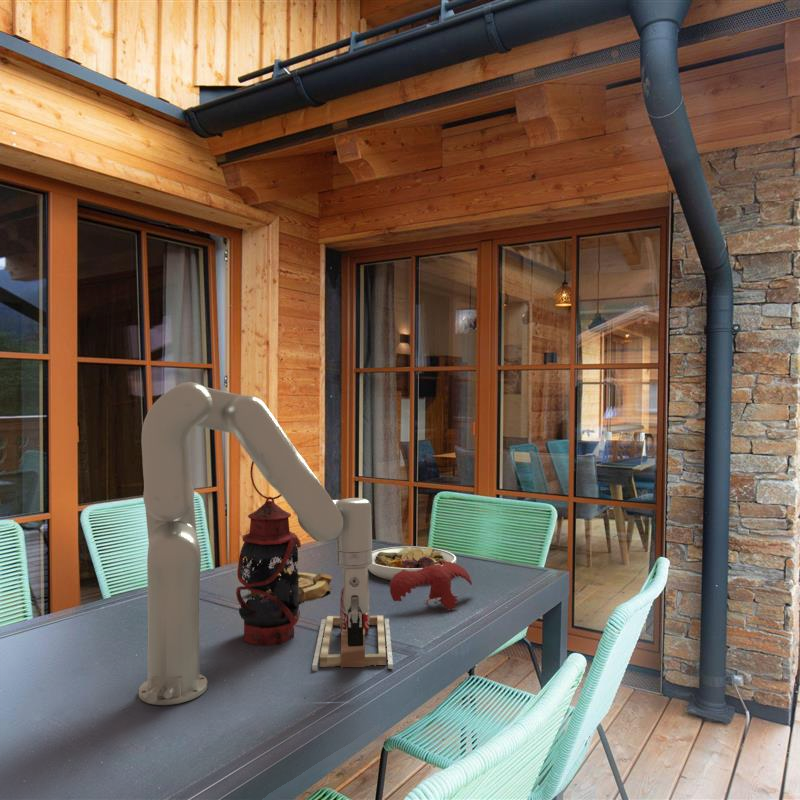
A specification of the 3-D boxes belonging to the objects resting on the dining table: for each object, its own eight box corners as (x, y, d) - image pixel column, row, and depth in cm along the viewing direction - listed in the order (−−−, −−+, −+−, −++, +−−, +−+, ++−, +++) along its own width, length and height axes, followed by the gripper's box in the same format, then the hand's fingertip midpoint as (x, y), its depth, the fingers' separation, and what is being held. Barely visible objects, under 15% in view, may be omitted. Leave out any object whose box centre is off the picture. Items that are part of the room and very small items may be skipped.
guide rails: (392, 670, 137) (392, 664, 137) (312, 671, 136) (312, 665, 136) (388, 624, 165) (388, 618, 165) (321, 624, 164) (321, 619, 164)
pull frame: (386, 667, 138) (386, 634, 138) (319, 668, 137) (319, 635, 137) (383, 623, 165) (383, 595, 165) (327, 623, 164) (327, 596, 164)
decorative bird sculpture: (478, 612, 187) (455, 566, 196) (495, 596, 182) (470, 549, 190) (399, 633, 171) (377, 581, 179) (415, 616, 165) (391, 564, 173)
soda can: (365, 640, 154) (365, 589, 154) (336, 638, 155) (336, 587, 155) (372, 629, 161) (372, 581, 161) (344, 627, 162) (345, 579, 162)
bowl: (351, 565, 223) (351, 542, 223) (430, 557, 235) (430, 535, 235) (386, 589, 195) (387, 563, 195) (473, 578, 208) (473, 553, 208)
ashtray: (234, 590, 193) (234, 573, 193) (302, 576, 209) (302, 560, 209) (276, 610, 176) (276, 592, 176) (347, 593, 192) (347, 576, 191)
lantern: (313, 633, 158) (314, 447, 157) (272, 654, 145) (273, 451, 145) (264, 622, 166) (265, 444, 165) (221, 640, 153) (222, 448, 153)
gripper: (372, 567, 131) (374, 652, 131) (371, 546, 148) (373, 622, 148) (334, 568, 130) (336, 653, 131) (338, 547, 148) (340, 623, 148)
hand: (356, 636), depth 139 cm, fingers open, 9 cm apart
